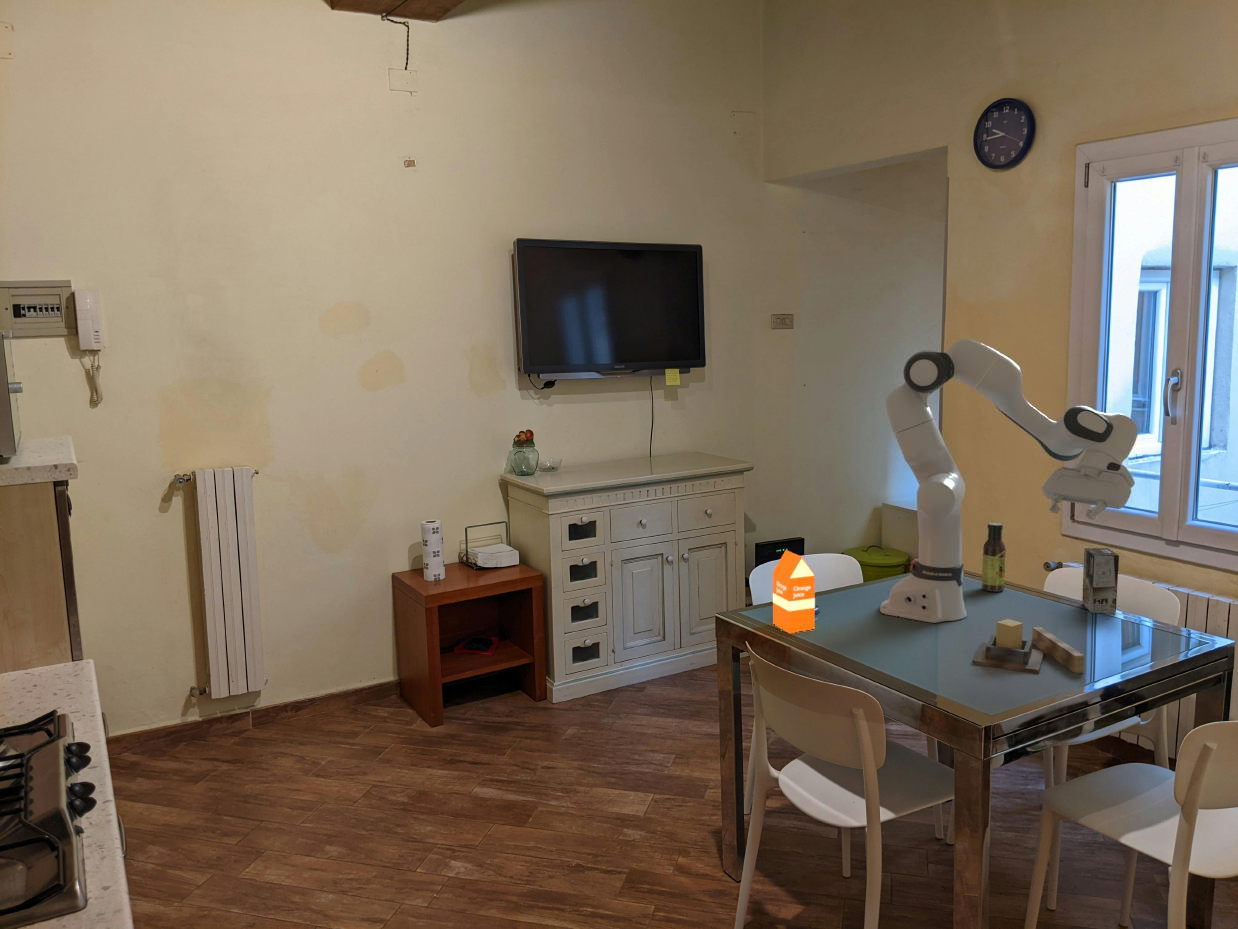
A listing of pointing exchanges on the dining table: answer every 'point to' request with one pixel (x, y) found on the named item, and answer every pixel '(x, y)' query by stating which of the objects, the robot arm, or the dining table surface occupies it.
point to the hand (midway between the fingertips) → (1070, 514)
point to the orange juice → (793, 594)
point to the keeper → (1009, 656)
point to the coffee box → (1100, 580)
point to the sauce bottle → (994, 559)
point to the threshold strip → (1058, 649)
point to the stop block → (1009, 634)
